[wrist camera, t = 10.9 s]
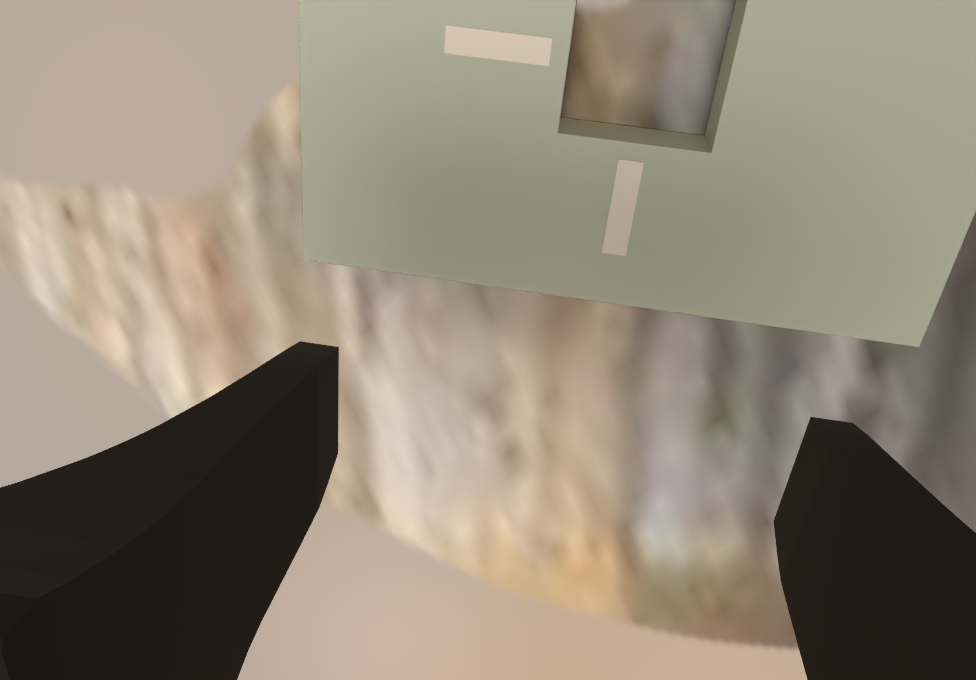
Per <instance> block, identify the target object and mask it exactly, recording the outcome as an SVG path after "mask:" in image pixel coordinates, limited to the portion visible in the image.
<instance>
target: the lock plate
mask: <svg viewBox="0 0 976 680" xmlns="http://www.w3.org/2000/svg"><path fill="white" fill-rule="evenodd" d="M576 4H577V0H299V42H300V100H301V157H302V214H303V260H308V261H315V262H322V263H329V264H336V265H344V266H351V267H358V268H365V269H372V270H379V271H386V272H393V273H400V274H407V275H414V276H421V277H428V278H435V279H442V280H449V281H456V282H464V283H471V284H478V285H485V286H492V287H499V288H506V289H513V290H520V291H527V292H534V293H541V294H548V295H555V296H562V297H569V298H577V299H584V300H591V301H598V302H605V303H612V304H619V305H626V306H633V307H640V308H647V309H654V310H661V311H668V312H675V313H682V314H689V315H697V316H704V317H711V318H718V319H725V320H732V321H739V322H746V323H753V324H760V325H767V326H774V327H781V328H788V329H795V330H802V331H809V332H817V333H824V334H831V335H838V336H845V337H852V338H859V339H866V340H873V341H880V342H887V343H894V344H901V345H908V346H915V347H919V346H920V344H921V342H922V339H923V337H924V334H925V332H926V329H927V327H928V325H929V322H930V320H931V317H932V315H933V313H934V310H935V308H936V305H937V303H938V301H939V298H940V296H941V293H942V291H943V289H944V286H945V284H946V281H947V279H948V276H949V274H950V272H951V269H952V267H953V264H954V262H955V260H956V257H957V255H958V252H959V250H960V248H961V245H962V243H963V240H964V238H965V235H966V233H967V231H968V228H969V226H970V223H971V221H972V219H973V216H974V214H975V211H976V0H736V2H735V6H734V11H733V15H732V19H731V24H730V28H729V33H728V37H727V41H726V46H725V50H724V54H723V59H722V63H721V67H720V72H719V76H718V80H717V85H716V89H715V93H714V98H713V102H712V106H711V111H710V115H709V120H708V124H707V128H706V133H705V136H702V135H694V134H687V133H679V132H671V131H663V130H655V129H648V128H640V127H632V126H624V125H617V124H609V123H601V122H593V121H585V120H578V119H570V118H562V117H561V111H562V104H563V97H564V90H565V83H566V75H567V68H568V61H569V54H570V47H571V40H572V33H573V25H574V18H575V11H576Z"/></svg>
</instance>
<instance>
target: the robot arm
mask: <svg viewBox="0 0 976 680" xmlns="http://www.w3.org/2000/svg"><path fill="white" fill-rule="evenodd" d="M338 359H339V347H334V346H327V345H320V344H314V343H307V342H299V343H297V344H295V345H293V346H291V347H290V348H288V349H287V350H285V351H283V352H282V353H280V354H279V355H277V356H275V357H274V358H272V359H271V360H269V361H268V362H266V363H264V364H263V365H261V366H260V367H258V368H257V369H255V370H254V371H252V372H250V373H249V374H247V375H246V376H244V377H242V378H241V379H239V380H237V381H236V382H234V383H233V384H231V385H229V386H228V387H226V388H224V389H223V390H221V391H220V392H218V393H216V394H215V395H213V396H211V397H210V398H208V399H206V400H204V401H202V402H201V403H199V404H197V405H195V406H193V407H191V408H190V409H188V410H186V411H184V412H182V413H180V414H179V415H177V416H175V417H173V418H171V419H170V420H168V421H166V422H164V423H162V424H160V425H159V426H157V427H155V428H153V429H151V430H149V431H147V432H144V433H143V434H140V435H138V436H136V437H134V438H132V439H130V440H128V441H125V442H123V443H121V444H118V445H116V446H114V447H111V448H109V449H107V450H104V451H102V452H100V453H97V454H95V455H93V456H90V457H88V458H85V459H83V460H80V461H77V462H74V463H71V464H68V465H66V466H63V467H60V468H57V469H54V470H52V471H49V472H46V473H43V474H40V475H37V476H35V477H32V478H29V479H26V480H23V481H21V482H17V483H14V484H11V485H8V486H4V487H1V488H0V680H237V678H238V676H239V673H240V670H241V668H242V665H243V663H244V660H245V657H246V655H247V652H248V649H249V647H250V645H251V643H252V641H253V638H254V636H255V634H256V632H257V630H258V628H259V625H260V623H261V621H262V619H263V617H264V615H265V613H266V611H267V609H268V608H269V606H270V604H271V602H272V600H273V598H274V596H275V594H276V592H277V590H278V588H279V586H280V584H281V582H282V580H283V578H284V576H285V574H286V572H287V570H288V568H289V566H290V564H291V562H292V560H293V559H294V557H295V555H296V553H297V551H298V549H299V547H300V545H301V543H302V541H303V539H304V536H305V535H306V533H307V531H308V529H309V527H310V525H311V523H312V521H313V518H314V517H315V515H316V513H317V511H318V509H319V507H320V504H321V501H322V498H323V495H324V493H325V490H326V487H327V484H328V481H329V478H330V475H331V472H332V469H333V466H334V463H335V460H336V457H337V454H338ZM774 528H775V538H776V547H777V556H778V563H779V570H780V577H781V583H782V587H783V591H784V595H785V599H786V602H787V606H788V610H789V614H790V617H791V621H792V625H793V629H794V632H795V636H796V639H797V643H798V647H799V650H800V654H801V657H802V661H803V665H804V668H805V672H806V675H807V679H808V680H976V533H975V532H974V531H973V530H971V529H970V528H969V527H968V526H967V525H966V524H965V523H963V522H962V521H961V520H960V519H959V518H958V517H956V516H955V515H954V514H953V513H952V512H951V511H950V510H949V509H947V508H946V507H945V506H944V505H943V504H942V503H941V502H940V501H939V500H937V499H936V498H935V497H934V496H933V495H932V494H931V493H930V492H929V491H928V490H926V489H925V488H924V487H923V486H922V485H921V484H920V483H919V482H918V481H917V480H916V479H915V478H913V477H912V476H911V475H910V474H909V473H908V472H907V471H906V470H905V469H904V468H903V467H902V466H901V465H900V464H898V463H897V462H896V461H895V460H894V459H893V458H892V457H891V456H890V455H889V454H888V453H887V452H886V451H884V450H883V449H882V448H881V447H880V446H879V445H878V444H877V443H876V442H875V441H873V440H872V439H871V438H870V437H869V436H868V435H867V434H865V433H864V432H863V431H862V430H861V429H859V428H858V427H857V426H856V425H854V424H853V423H848V422H842V421H835V420H828V419H821V418H815V417H811V418H810V421H809V423H808V426H807V429H806V432H805V435H804V437H803V440H802V443H801V446H800V449H799V452H798V454H797V457H796V460H795V463H794V466H793V468H792V471H791V474H790V477H789V480H788V482H787V485H786V488H785V491H784V494H783V496H782V499H781V502H780V505H779V508H778V510H777V513H776V516H775V519H774Z"/></svg>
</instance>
